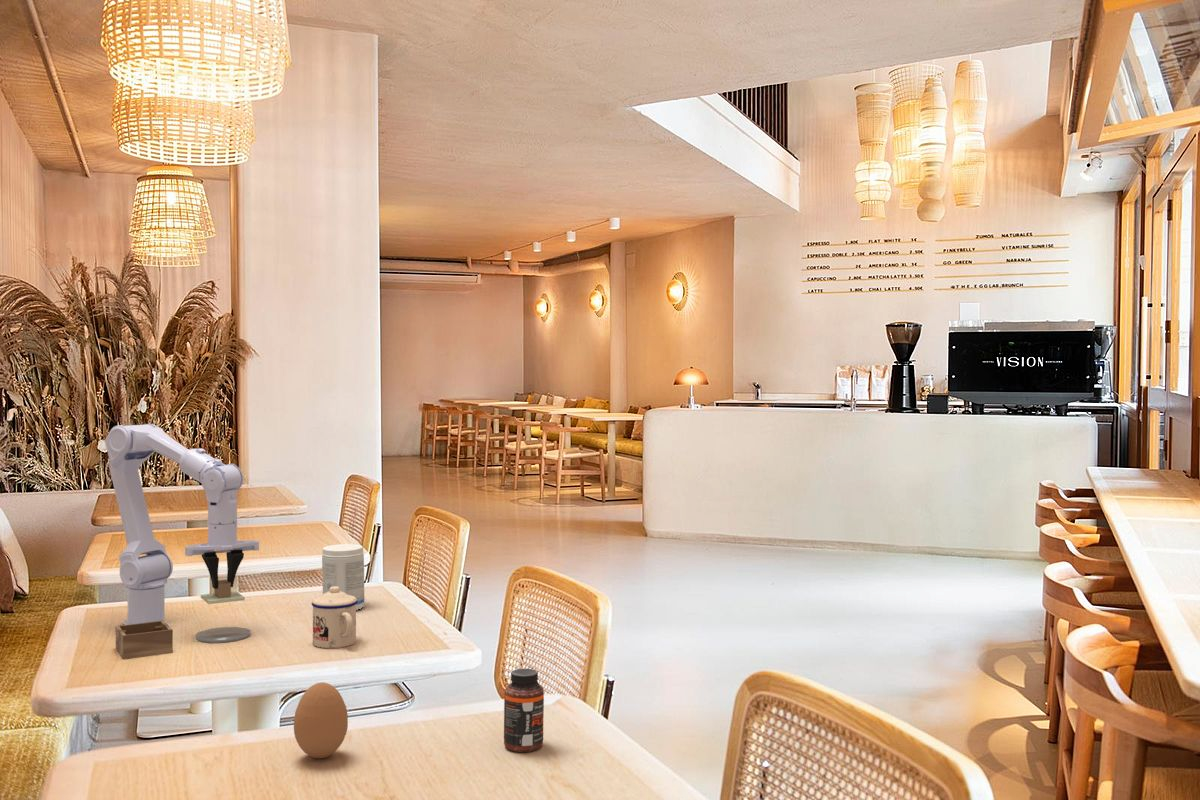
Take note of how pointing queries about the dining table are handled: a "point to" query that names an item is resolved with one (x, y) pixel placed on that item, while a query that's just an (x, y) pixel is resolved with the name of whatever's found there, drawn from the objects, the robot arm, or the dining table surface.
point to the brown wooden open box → (144, 639)
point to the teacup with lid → (334, 619)
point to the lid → (222, 594)
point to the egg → (320, 721)
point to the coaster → (223, 635)
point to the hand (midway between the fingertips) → (222, 587)
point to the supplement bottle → (523, 712)
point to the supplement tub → (344, 570)
